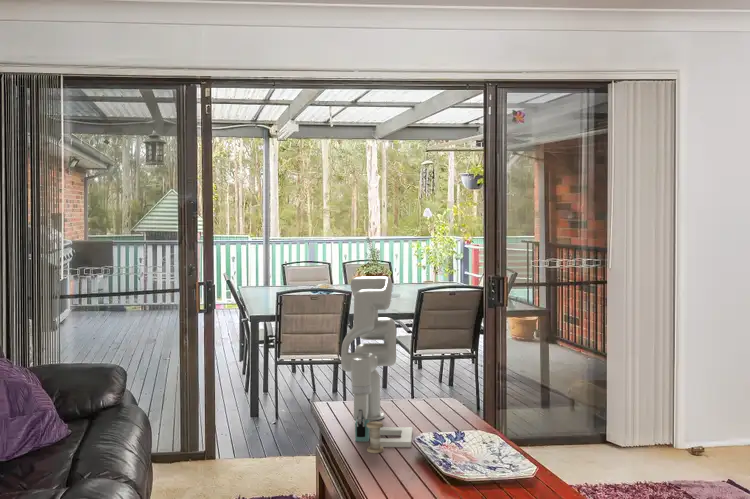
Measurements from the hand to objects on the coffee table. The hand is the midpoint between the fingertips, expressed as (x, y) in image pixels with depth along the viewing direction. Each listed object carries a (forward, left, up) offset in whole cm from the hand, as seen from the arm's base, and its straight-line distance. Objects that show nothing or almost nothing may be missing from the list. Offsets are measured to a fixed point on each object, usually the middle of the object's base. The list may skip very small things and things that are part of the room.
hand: (362, 432), depth 292 cm
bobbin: (+13, +6, -3) cm, 14 cm away
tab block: (0, 0, -3) cm, 3 cm away
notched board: (0, +12, -3) cm, 12 cm away
